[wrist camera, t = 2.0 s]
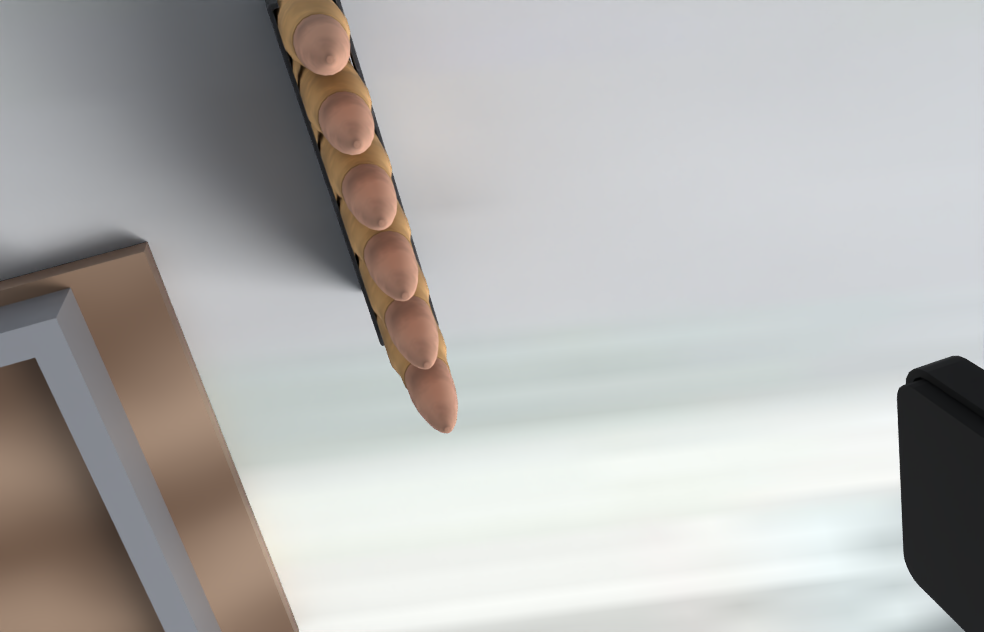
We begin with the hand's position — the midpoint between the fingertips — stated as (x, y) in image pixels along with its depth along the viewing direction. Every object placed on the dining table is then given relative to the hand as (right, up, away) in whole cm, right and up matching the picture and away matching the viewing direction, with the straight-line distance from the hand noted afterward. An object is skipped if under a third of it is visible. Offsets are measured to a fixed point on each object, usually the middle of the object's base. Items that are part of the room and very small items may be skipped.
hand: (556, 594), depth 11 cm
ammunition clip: (-6, +9, +20) cm, 23 cm away
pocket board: (-17, -4, +22) cm, 28 cm away
